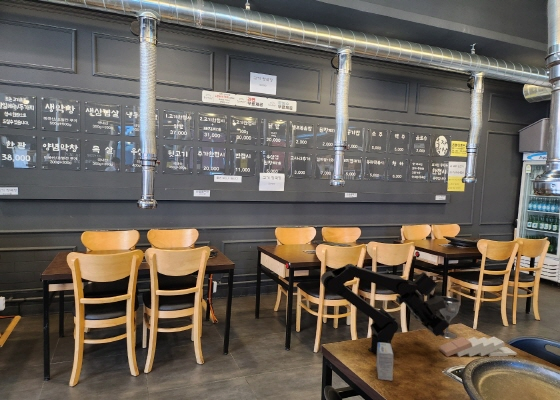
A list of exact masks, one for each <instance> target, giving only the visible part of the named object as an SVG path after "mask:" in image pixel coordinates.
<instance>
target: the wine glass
mask: <svg viewBox="0 0 560 400" xmlns="http://www.w3.org/2000/svg"><path fill="white" fill-rule="evenodd" d="M440 297H441V298H443V299H444V302H445V304H446V308H443V309H440V310H439V312H440V314H441V315H442V317H443V318H444V319H445V320H446V321H447V322H448V323H449V324H450V322H451V320H452V319H453V318H455V317H456V316H457V315H458V313H459V310H460V304H461V303H460V302H461V301H460V299H458V298H455V297H452V296H444V295H443V296H442V295H441V296H440ZM449 326H450V325H449ZM449 326H448V327H447V328H446V329H445V330H444V333H445V335H444V336H441V335H439V336H440V337H442V338H446V339H456V338H457V335H456V334H455V333H453V332H451V331H449V329H450V328H449Z"/></svg>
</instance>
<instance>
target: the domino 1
mask: <svg viewBox="0 0 560 400" xmlns="http://www.w3.org/2000/svg"><path fill="white" fill-rule="evenodd" d="M470 347H472V344H471V342H470V341H468V339H467V338H466V337H464V336H461V337H459V338H457V339H456V338H455V339H454V340H451V341H449V342H446V343H444V344H442V345H438V348H439V351H440V352H441V353H443V354H444V355H445V356H446V357H450V356H453V355H456V354H455V353H458V352H460V351H463V350H465V349H468V348H470Z"/></svg>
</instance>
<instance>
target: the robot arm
mask: <svg viewBox="0 0 560 400" xmlns="http://www.w3.org/2000/svg"><path fill="white" fill-rule="evenodd" d="M353 278H356V279H359V280H362V281H365V282H367V283H368V282H369V283H372V284H376V285H377V286H381V287H384V288H386V289H387V290H389V291H391V292H393V293H395V294H397V295H396V296H395V297H396V299H395V302H396V303H397V304H398V305H399V306H400V305H402V304H405V305H406V306H407V307H408V309H409V311H411V312H410V314H411V316H412V317H413V318H414V319H415V320H418V321H419V322H421V325H422V326H423V327H425V328H426V329H427V330H428V331H429V332H431V333H432V334H433V335H434V336H436V337H439V336H440V335H441V336H440V337H442V336H444V335H445V333H444V331H446V328H447V327H448V326H450V323H448V322H447V321H446V320H445V318H444V317H443V316H438V315H437V314H438V313H437V312H438V311H440V309H443V308H446V304H445V302H444V299H443V298H441V296H440V295H434V294H433V293H431V292H432V291H434V290H435V289H436V288H438V283H437V282H436V281H435V279H432V278H431V277H430V276H429V275H428V274H427V273H426V272H424V271H422V272H421V273H420V274H419V276H417V277H416V278H415V279H414V280H410V279H405V278H403V277H402V276H400V275H396V274H386V273H384V274H383V273H380V272H377V271H373V270H371V269H366V268H365V267H361V266H357V265H354V264H352V263H348V264H345V265H344V266H341V267H338V268H336V269H333V270H331V271H325V272H324V273H323V274H322V275H321V277H320V282H321V284H322V286H323V287H324V289H325V290H326V291H327V292H330V293H332V294H334V295H336V296H339V297H341V298H343V299H345V300H346V301H347V302H348V303H350V304H351V305H352V306H353V307H354V308H356V309H358V310H359V311H360V312H361V313H363V314H364V315H366V316H367V317H369V318H370V319H372V321H373V322H372V324H369V325H370V329H371V332H372V333H373V334H372V335H371V346H370V348H368V349H367V350H368V351H369V352H371V353H372V354H373V355H376V356H377V343H378V342H381V343H389V344H391V345H392V341H393V338H394V336H395V334H396V333H397V332H398V330H399V323H398V322H397V321H396V319H397V318H396V317H394V315H392V314H391V312H389V311H387V310H385V309H384V307H382V306H380V309H378V308H375V307H374V306H373V305H372V304H370V303H368V302H367V301H366V300H365V299H364V298H362V297H361V296H359V295H358V294H356V293H355V292H354V291H353V290H351V289H350V288H348V287H347V286H346V285H345V284H346V283H347V282H348V281H349V280H351V279H353ZM422 296H424V297H426V300H424V299H423V298H422Z"/></svg>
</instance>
